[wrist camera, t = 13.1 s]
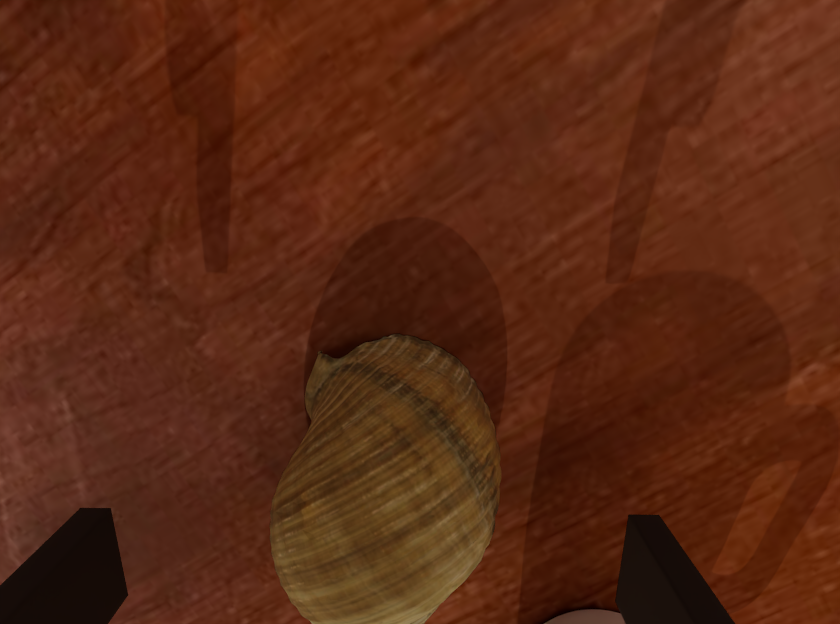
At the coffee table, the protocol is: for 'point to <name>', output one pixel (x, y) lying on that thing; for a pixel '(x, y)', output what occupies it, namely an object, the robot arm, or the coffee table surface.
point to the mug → (588, 617)
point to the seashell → (386, 486)
